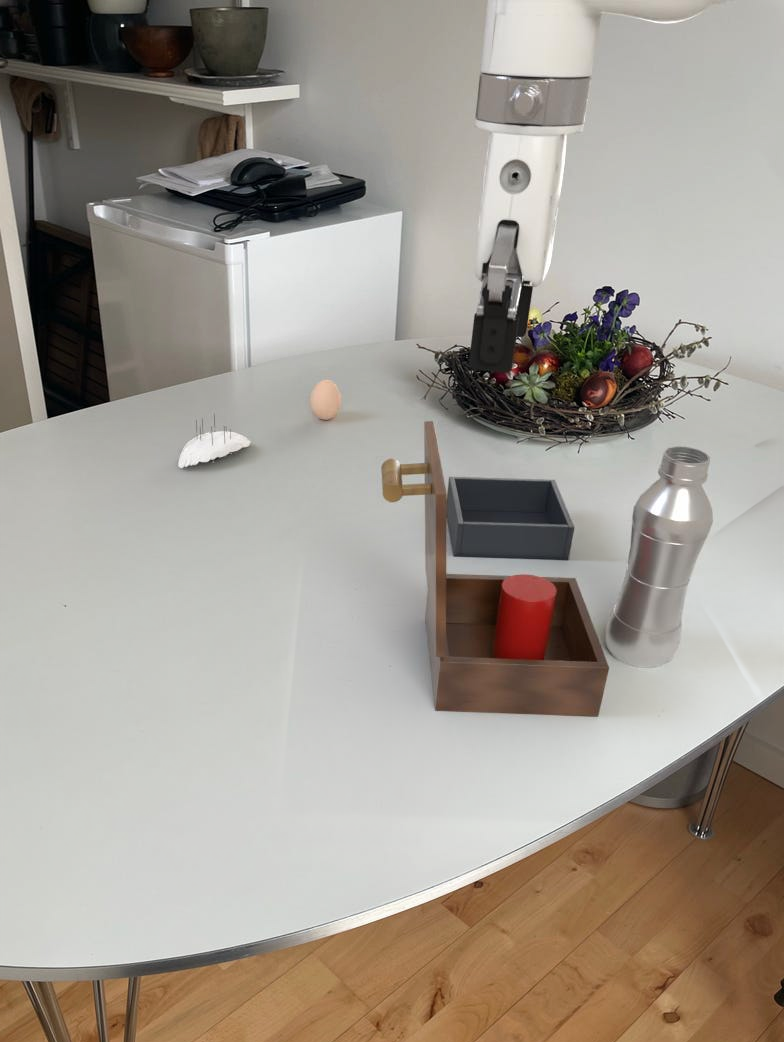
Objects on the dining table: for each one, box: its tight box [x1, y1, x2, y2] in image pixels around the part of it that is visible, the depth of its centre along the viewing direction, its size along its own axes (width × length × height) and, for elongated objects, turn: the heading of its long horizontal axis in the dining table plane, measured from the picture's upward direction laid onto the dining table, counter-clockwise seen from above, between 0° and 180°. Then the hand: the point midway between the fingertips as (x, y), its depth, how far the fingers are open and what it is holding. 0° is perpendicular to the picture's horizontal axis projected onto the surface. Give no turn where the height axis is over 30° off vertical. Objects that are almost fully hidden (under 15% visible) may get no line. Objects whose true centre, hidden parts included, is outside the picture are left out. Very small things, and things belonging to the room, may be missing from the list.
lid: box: [380, 420, 448, 657], centre depth 81 cm, size 14×15×5 cm
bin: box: [446, 476, 575, 561], centre depth 108 cm, size 12×12×4 cm
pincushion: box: [177, 413, 252, 469], centre depth 126 cm, size 12×6×6 cm, turn 135°
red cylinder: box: [491, 574, 556, 660], centre depth 85 cm, size 5×5×8 cm
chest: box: [424, 573, 610, 718], centre depth 86 cm, size 14×15×6 cm
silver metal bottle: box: [604, 445, 714, 669], centre depth 84 cm, size 6×7×20 cm
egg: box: [309, 379, 342, 421], centre depth 138 cm, size 4×4×6 cm
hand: (498, 351), depth 77 cm, fingers open, 9 cm apart
